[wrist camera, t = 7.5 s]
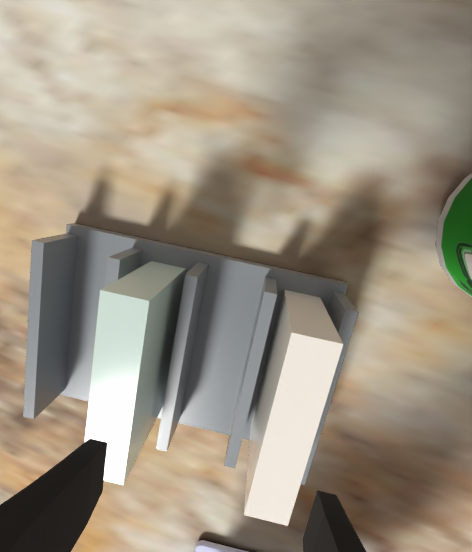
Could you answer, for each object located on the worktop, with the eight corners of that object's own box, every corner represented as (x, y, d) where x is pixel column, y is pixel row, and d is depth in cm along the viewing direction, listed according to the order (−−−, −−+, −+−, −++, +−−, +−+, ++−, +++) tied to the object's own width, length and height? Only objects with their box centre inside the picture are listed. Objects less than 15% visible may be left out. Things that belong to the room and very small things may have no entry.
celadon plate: (163, 405, 21) (123, 485, 15) (132, 398, 21) (81, 474, 15) (186, 268, 19) (149, 300, 13) (151, 260, 19) (100, 290, 13)
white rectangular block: (282, 433, 21) (287, 525, 15) (250, 426, 21) (243, 515, 15) (320, 297, 19) (343, 344, 13) (284, 289, 19) (291, 332, 13)
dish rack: (298, 442, 22) (304, 493, 18) (61, 386, 22) (21, 423, 19) (345, 281, 19) (363, 302, 15) (74, 223, 20) (30, 229, 16)
